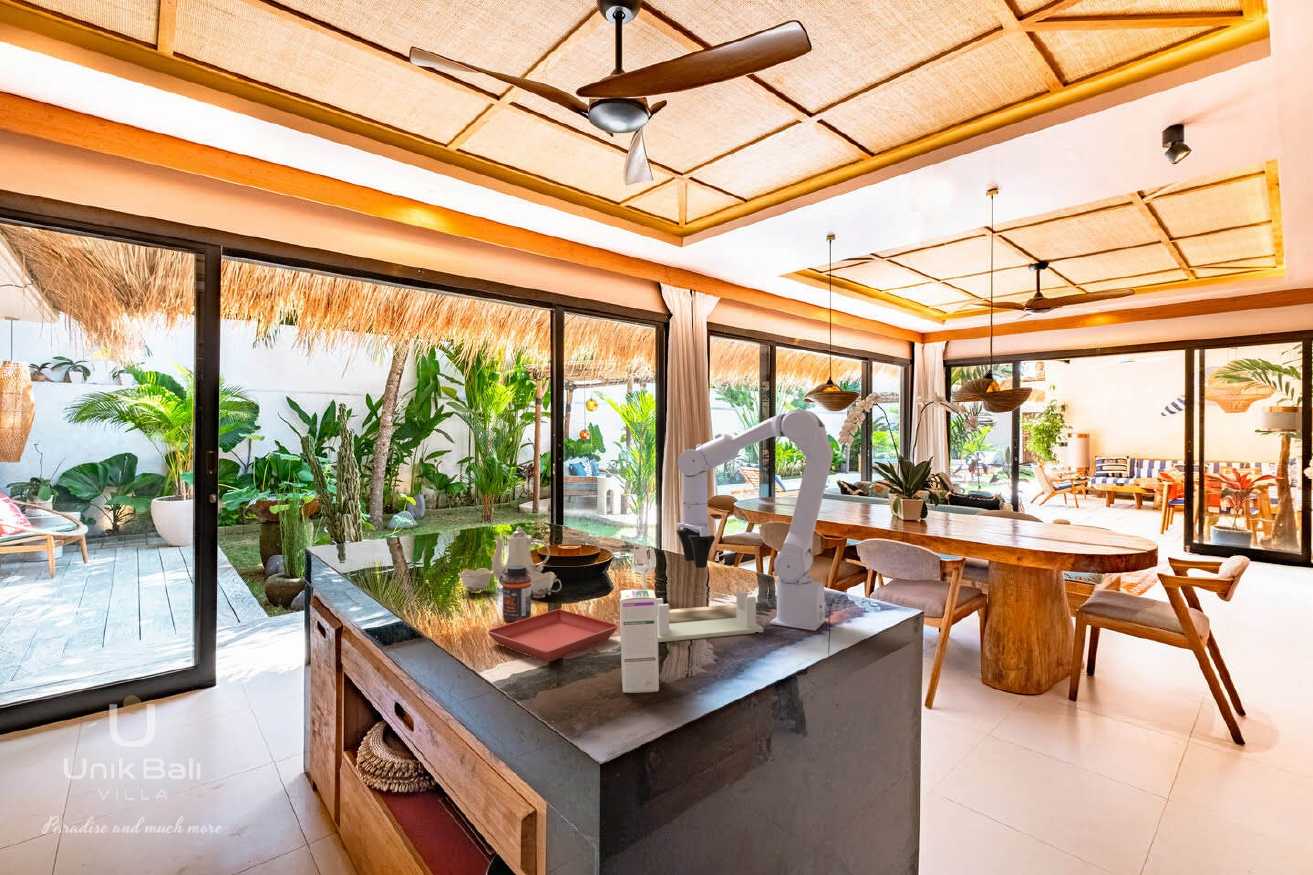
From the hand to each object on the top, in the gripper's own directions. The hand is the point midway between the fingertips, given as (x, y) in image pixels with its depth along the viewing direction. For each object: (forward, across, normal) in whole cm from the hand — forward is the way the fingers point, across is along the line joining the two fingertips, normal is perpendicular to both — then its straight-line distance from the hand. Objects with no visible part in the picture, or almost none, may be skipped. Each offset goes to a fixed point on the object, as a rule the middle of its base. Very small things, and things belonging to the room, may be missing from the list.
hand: (695, 563), depth 137 cm
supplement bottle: (+11, -5, -39) cm, 41 cm away
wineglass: (+11, -14, -8) cm, 20 cm away
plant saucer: (+11, +13, -32) cm, 37 cm away
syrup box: (+11, +37, -21) cm, 44 cm away
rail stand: (+10, +14, -3) cm, 18 cm away
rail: (+11, +6, -3) cm, 13 cm away
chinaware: (+11, -30, -39) cm, 50 cm away
